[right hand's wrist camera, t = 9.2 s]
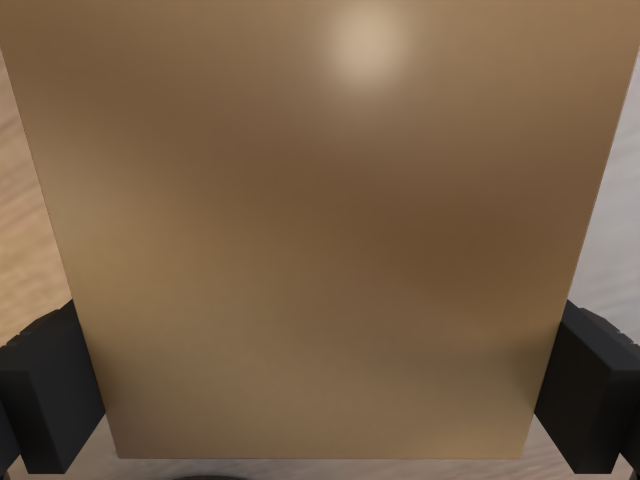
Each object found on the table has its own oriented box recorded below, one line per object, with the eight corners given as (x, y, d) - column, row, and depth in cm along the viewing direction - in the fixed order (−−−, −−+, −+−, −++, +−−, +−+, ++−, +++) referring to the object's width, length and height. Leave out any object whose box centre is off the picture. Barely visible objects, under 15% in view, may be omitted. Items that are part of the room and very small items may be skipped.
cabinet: (177, -146, 14) (-267, -876, 3) (463, -145, 14) (911, -871, 3) (222, 267, 20) (117, 459, 10) (417, 268, 20) (521, 460, 10)
